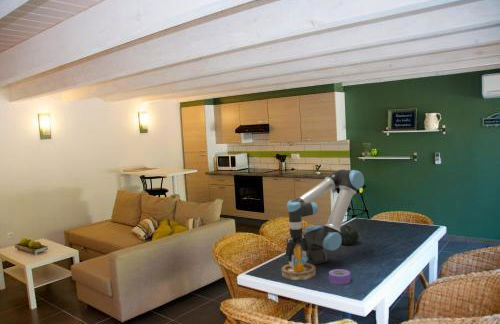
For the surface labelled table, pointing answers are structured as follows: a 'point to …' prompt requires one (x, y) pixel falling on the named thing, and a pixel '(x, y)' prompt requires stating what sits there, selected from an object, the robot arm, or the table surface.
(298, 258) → the orange upright piece
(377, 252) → the table surface
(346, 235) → the squash
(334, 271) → the tape roll
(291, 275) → the round brown basket
